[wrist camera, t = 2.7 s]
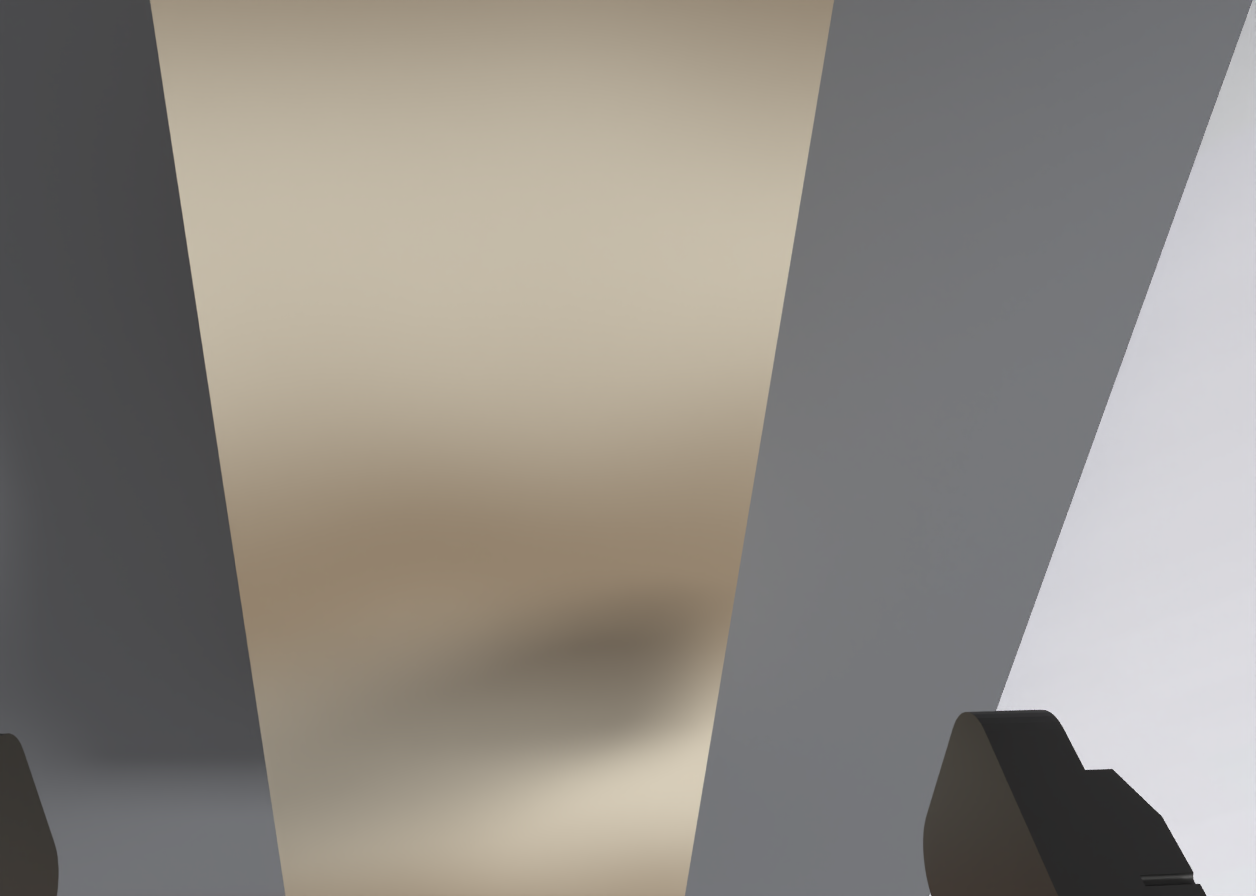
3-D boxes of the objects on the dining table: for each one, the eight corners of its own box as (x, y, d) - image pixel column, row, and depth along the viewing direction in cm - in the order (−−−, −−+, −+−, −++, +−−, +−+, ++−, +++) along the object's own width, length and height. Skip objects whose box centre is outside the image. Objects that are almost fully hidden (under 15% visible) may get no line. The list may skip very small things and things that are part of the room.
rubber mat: (-1326, -596, 9) (-1450, -610, 8) (1339, -346, 11) (1382, -343, 11) (-149, 1198, 26) (-165, 1233, 25) (822, 1151, 28) (828, 1182, 28)
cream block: (233, -183, 11) (132, -116, 8) (762, -146, 11) (846, -70, 9) (326, 713, 18) (289, 923, 15) (655, 711, 18) (681, 912, 15)
